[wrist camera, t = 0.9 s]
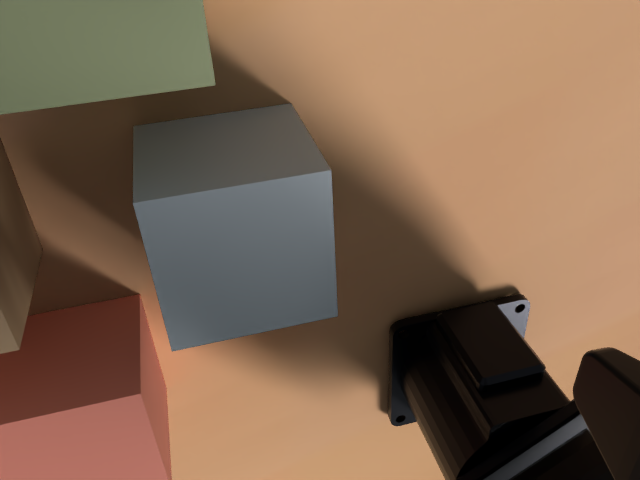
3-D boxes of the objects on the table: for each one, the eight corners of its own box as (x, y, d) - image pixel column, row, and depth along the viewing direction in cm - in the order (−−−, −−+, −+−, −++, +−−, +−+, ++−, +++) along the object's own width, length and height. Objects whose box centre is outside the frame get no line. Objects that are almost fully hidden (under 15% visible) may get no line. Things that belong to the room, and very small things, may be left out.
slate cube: (301, 230, 22) (338, 316, 18) (165, 255, 21) (172, 351, 17) (290, 102, 19) (331, 170, 15) (133, 124, 18) (132, 202, 14)
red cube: (166, 386, 25) (172, 492, 21) (39, 414, 24) (19, 531, 20) (139, 292, 22) (140, 393, 18) (-6, 320, 21) (-39, 433, 17)
